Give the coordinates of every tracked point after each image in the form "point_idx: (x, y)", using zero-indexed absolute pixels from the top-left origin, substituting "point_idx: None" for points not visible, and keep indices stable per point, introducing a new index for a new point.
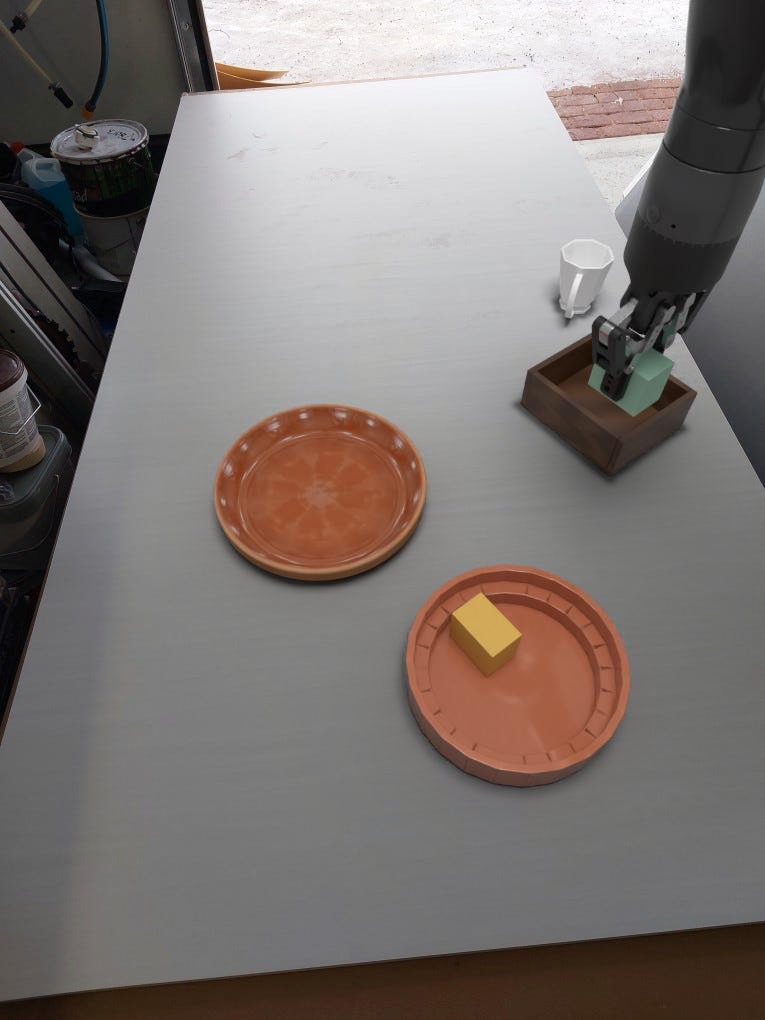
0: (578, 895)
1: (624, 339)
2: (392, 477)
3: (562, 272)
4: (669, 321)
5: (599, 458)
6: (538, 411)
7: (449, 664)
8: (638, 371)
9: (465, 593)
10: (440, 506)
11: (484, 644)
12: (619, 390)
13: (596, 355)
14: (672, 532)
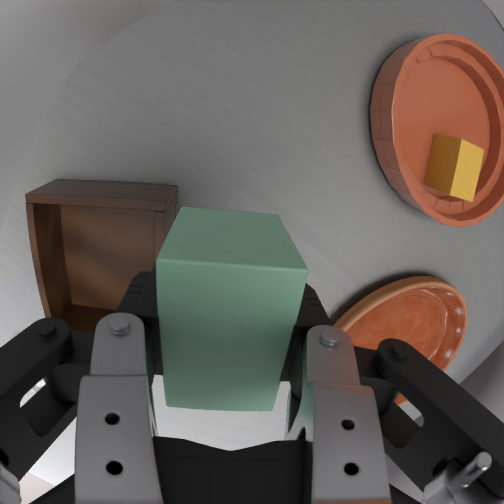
0: (495, 35)
1: (500, 457)
2: (348, 333)
3: None
4: (154, 442)
5: (173, 211)
6: None
7: None
8: (292, 314)
9: (431, 204)
10: (344, 285)
11: (480, 162)
12: None
13: (409, 418)
14: (195, 82)
